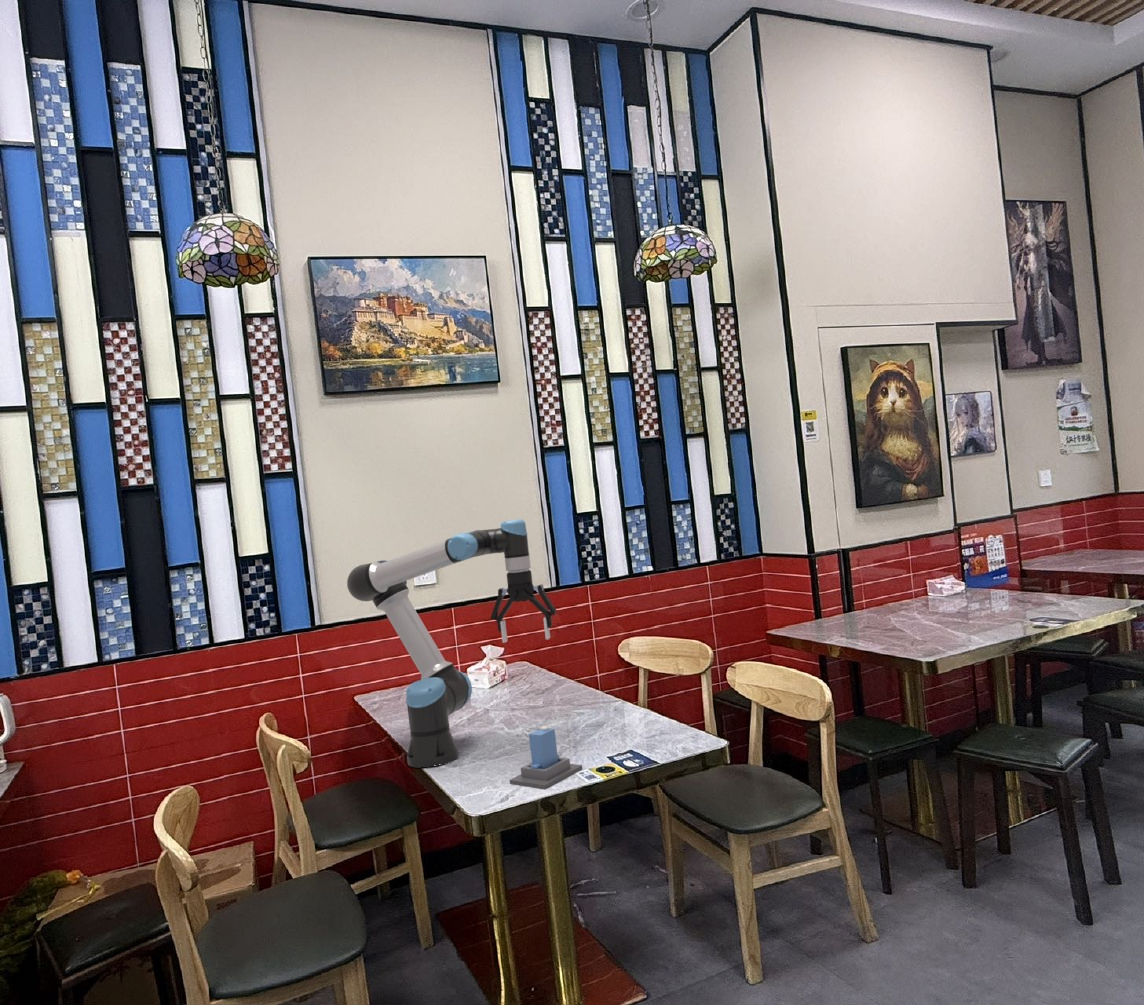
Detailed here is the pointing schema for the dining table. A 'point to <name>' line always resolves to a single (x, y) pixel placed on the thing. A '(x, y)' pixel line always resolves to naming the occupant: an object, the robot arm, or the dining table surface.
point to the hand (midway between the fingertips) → (526, 640)
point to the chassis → (545, 774)
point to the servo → (543, 748)
